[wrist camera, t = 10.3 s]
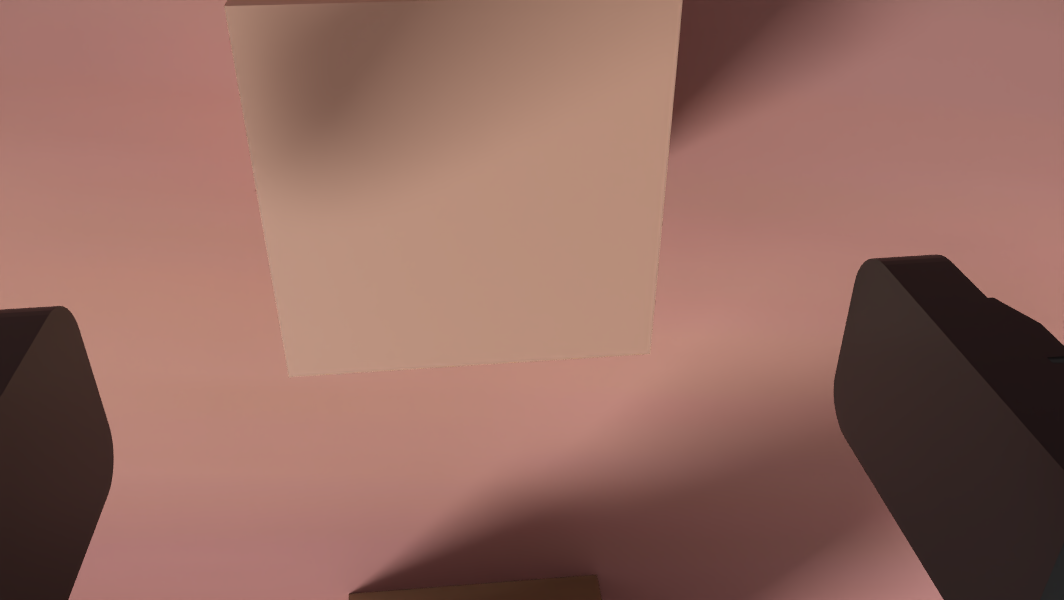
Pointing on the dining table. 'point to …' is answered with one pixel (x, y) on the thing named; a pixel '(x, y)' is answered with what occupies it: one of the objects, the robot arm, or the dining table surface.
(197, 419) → the dining table surface
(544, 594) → the walnut base
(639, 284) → the tan block
